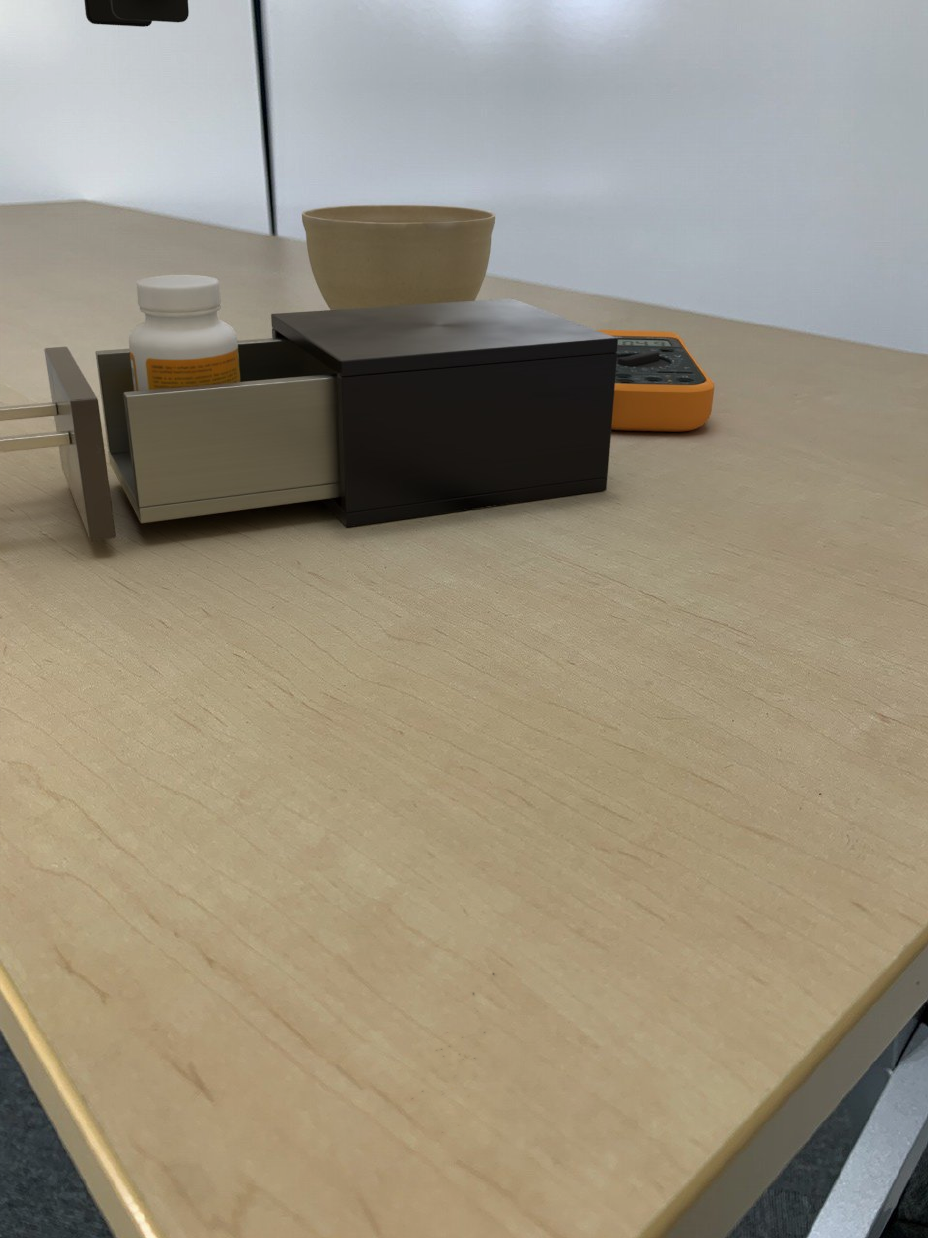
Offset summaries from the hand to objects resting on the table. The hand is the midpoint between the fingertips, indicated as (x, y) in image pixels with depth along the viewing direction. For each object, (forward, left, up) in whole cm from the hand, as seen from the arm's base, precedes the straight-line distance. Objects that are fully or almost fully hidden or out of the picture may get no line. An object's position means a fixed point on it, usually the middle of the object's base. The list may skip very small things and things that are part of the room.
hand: (134, 22), depth 52 cm
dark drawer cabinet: (+14, -3, -23) cm, 27 cm away
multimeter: (+34, +7, -23) cm, 42 cm away
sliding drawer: (-2, -3, -22) cm, 22 cm away
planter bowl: (+25, +31, -23) cm, 46 cm away
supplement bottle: (0, -3, -21) cm, 21 cm away
